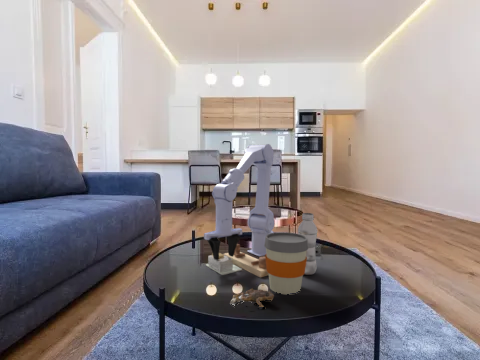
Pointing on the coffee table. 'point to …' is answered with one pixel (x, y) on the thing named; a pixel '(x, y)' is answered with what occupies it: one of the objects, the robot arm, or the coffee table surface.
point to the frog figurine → (252, 297)
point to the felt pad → (227, 271)
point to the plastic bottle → (309, 241)
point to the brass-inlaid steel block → (220, 263)
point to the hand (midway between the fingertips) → (223, 257)
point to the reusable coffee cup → (285, 261)
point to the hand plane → (249, 263)
